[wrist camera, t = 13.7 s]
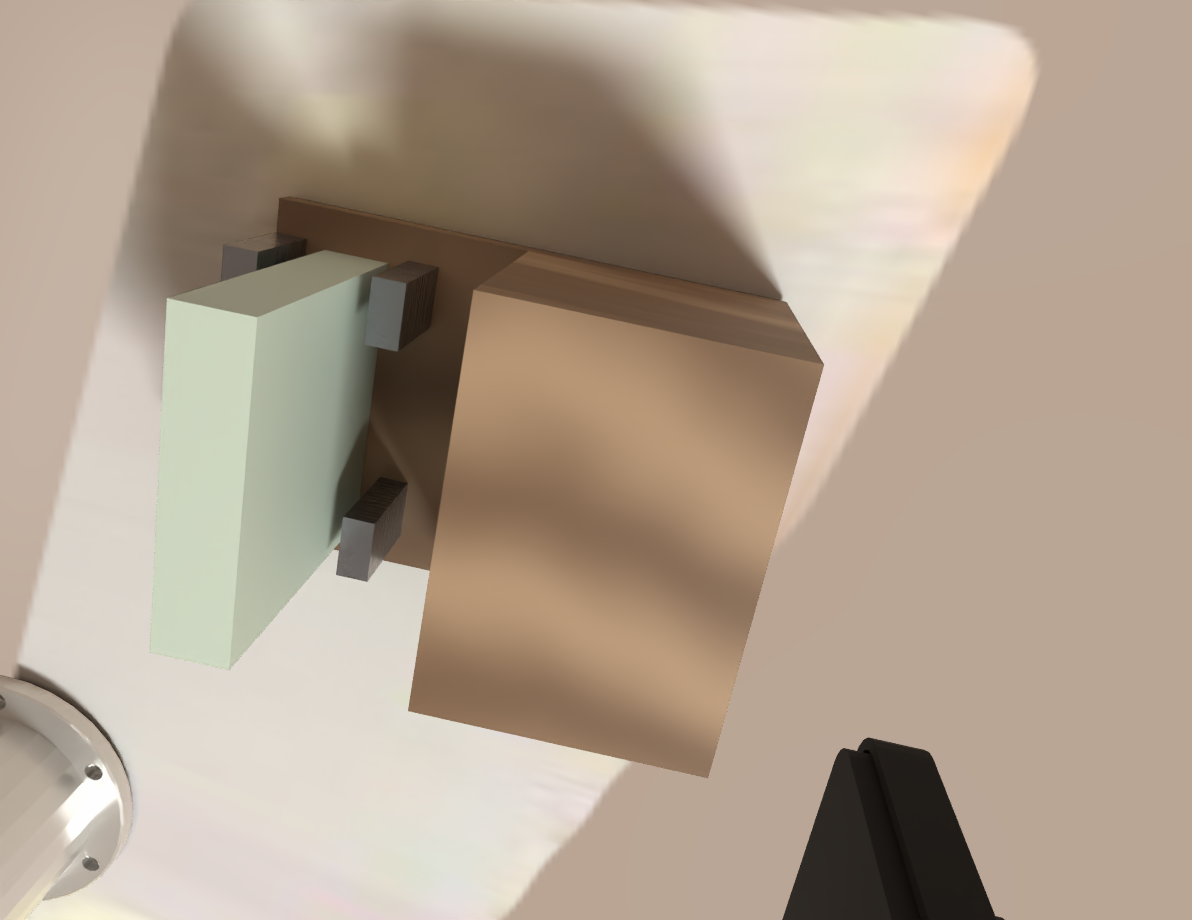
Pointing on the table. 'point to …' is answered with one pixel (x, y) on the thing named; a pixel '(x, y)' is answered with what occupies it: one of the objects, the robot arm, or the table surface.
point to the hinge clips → (390, 325)
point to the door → (257, 446)
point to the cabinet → (580, 484)
